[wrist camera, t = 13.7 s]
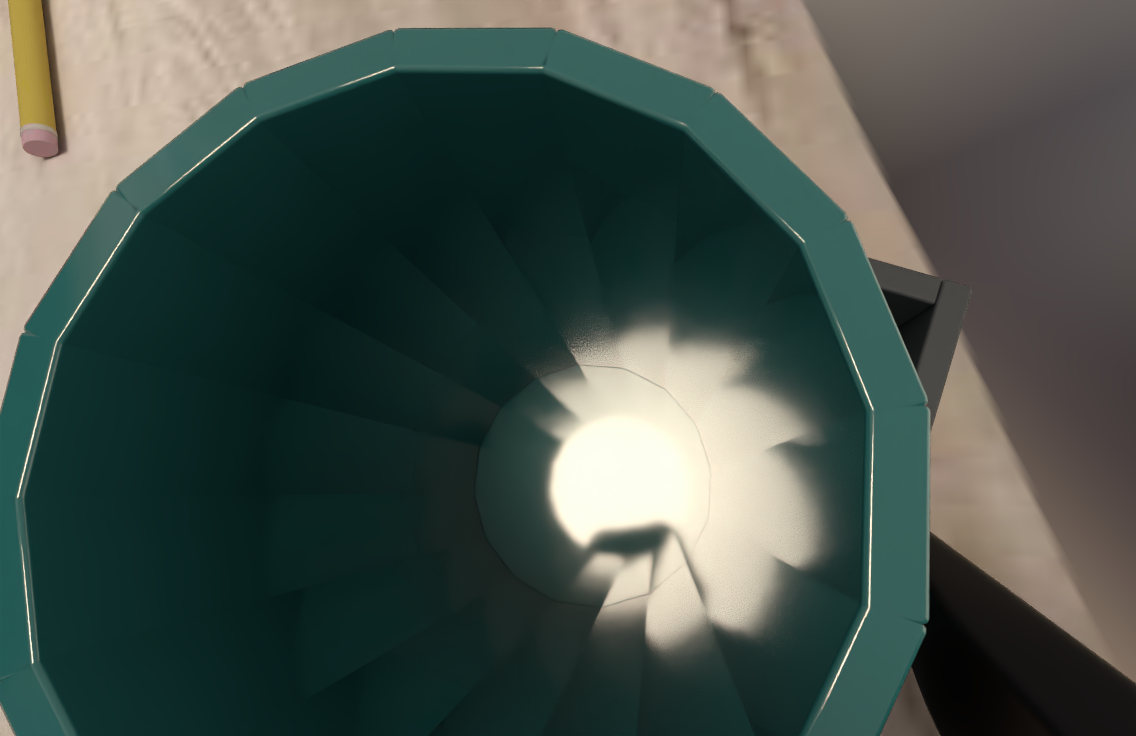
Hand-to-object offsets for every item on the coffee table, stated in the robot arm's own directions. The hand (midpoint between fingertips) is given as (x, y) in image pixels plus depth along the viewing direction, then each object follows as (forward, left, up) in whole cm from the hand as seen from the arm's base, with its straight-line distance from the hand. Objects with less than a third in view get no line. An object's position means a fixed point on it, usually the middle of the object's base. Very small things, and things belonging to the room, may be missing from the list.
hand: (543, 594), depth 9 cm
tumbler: (+1, -1, -8) cm, 9 cm away
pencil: (+27, -11, -9) cm, 30 cm away
